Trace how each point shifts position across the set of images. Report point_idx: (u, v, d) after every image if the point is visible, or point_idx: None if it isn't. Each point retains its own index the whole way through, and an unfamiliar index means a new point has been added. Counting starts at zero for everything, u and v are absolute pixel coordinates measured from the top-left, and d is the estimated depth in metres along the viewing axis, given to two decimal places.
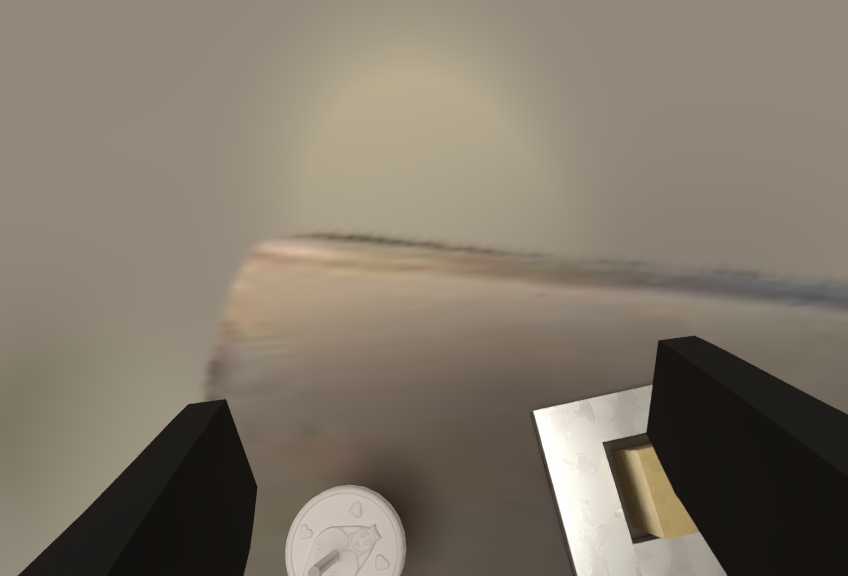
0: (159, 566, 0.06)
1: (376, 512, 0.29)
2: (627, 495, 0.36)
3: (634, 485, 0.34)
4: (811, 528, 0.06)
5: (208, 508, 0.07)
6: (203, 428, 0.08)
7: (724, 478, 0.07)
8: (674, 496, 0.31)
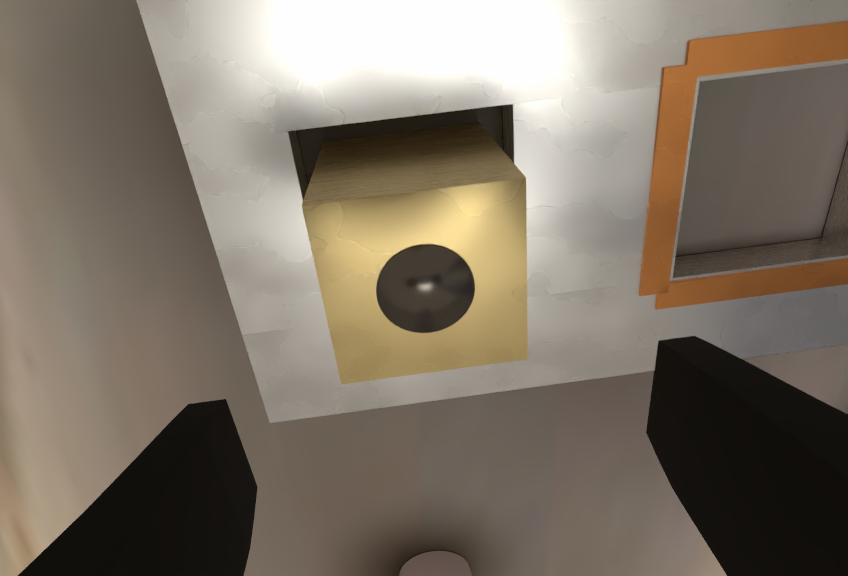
0: (159, 566, 0.06)
1: None
2: None
3: None
4: (811, 528, 0.06)
5: (208, 508, 0.07)
6: (203, 428, 0.08)
7: (723, 478, 0.07)
8: (446, 330, 0.14)
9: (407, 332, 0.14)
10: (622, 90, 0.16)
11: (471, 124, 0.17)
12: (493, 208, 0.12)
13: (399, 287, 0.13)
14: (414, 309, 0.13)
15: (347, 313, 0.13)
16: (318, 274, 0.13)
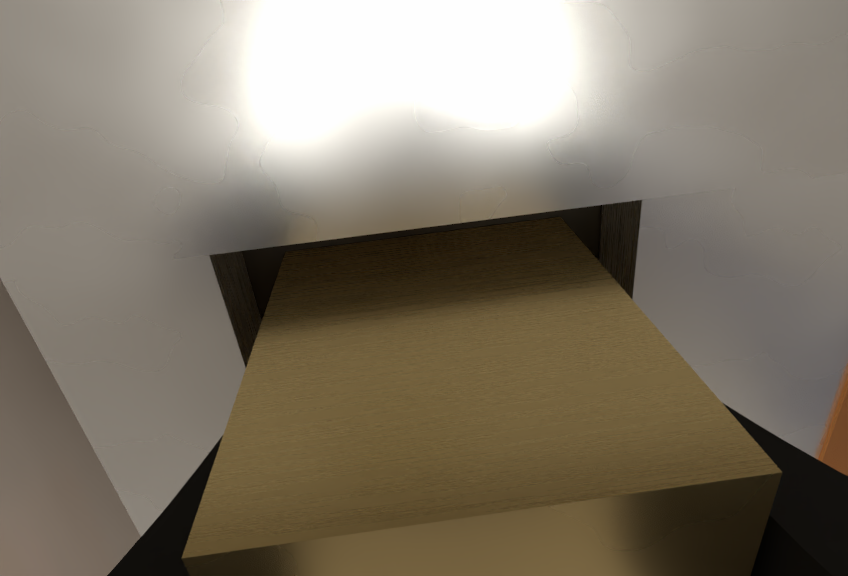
0: None
1: None
2: None
3: None
4: None
5: None
6: None
7: None
8: None
9: None
10: None
11: (548, 221, 0.10)
12: (681, 535, 0.05)
13: None
14: None
15: None
16: None
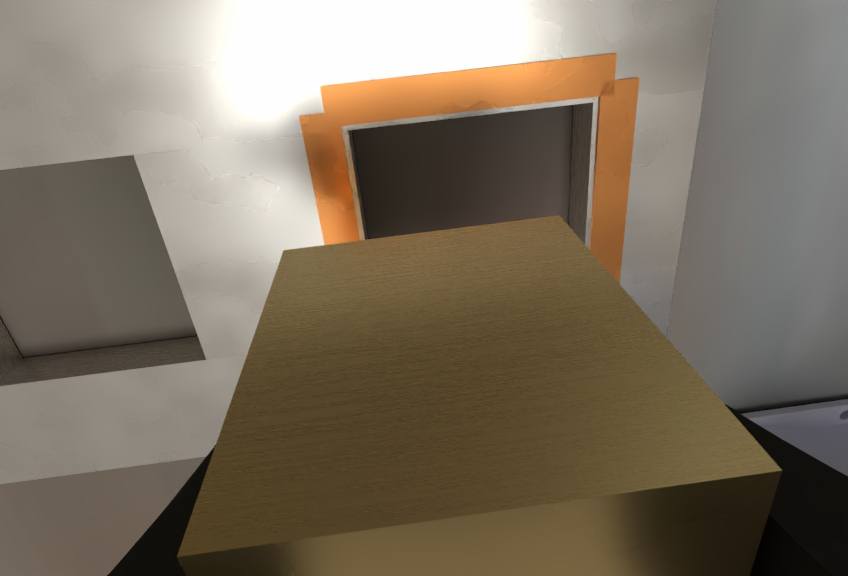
0: None
1: None
2: None
3: None
4: None
5: None
6: None
7: None
8: None
9: None
10: (260, 139, 0.14)
11: (547, 220, 0.10)
12: (681, 533, 0.05)
13: None
14: None
15: None
16: None
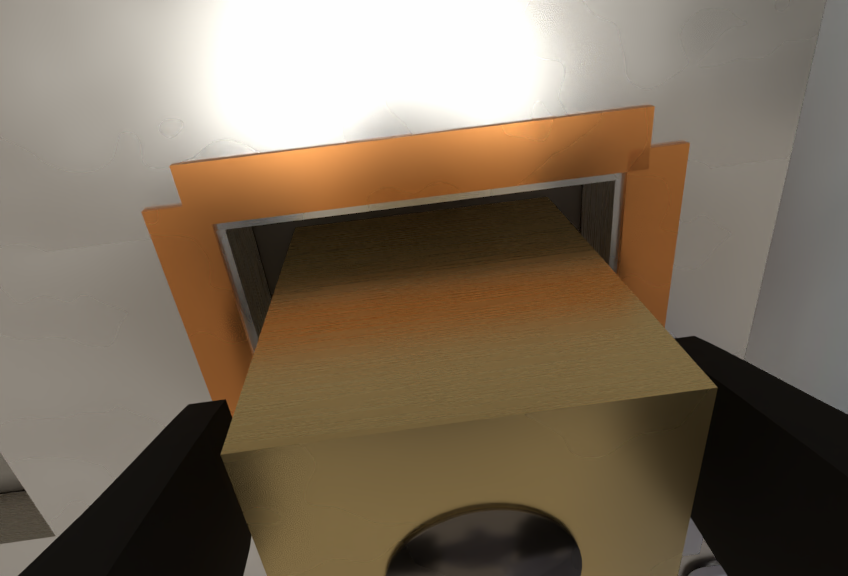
0: (159, 566, 0.06)
1: None
2: None
3: None
4: (811, 528, 0.06)
5: (208, 508, 0.07)
6: (203, 428, 0.08)
7: (724, 478, 0.07)
8: None
9: None
10: (86, 246, 0.09)
11: (535, 200, 0.11)
12: (636, 444, 0.06)
13: None
14: None
15: None
16: (266, 557, 0.06)
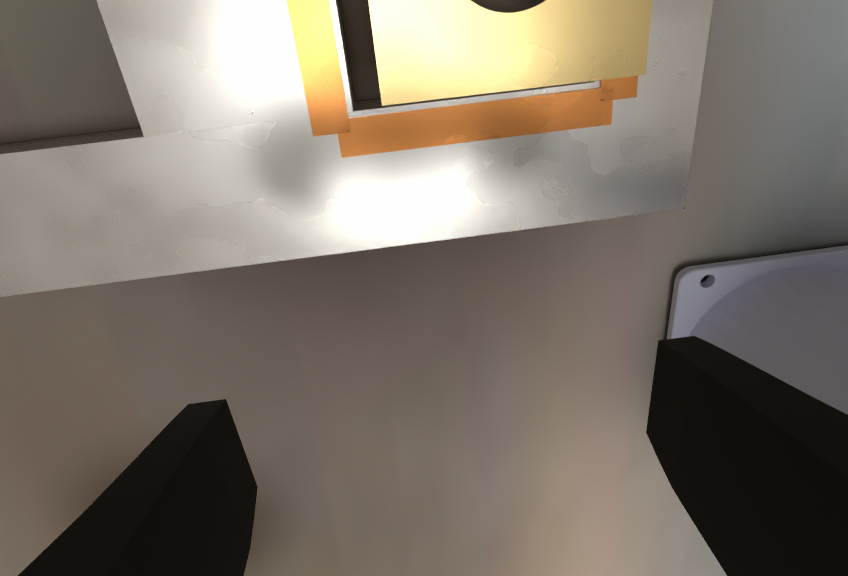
0: (159, 566, 0.06)
1: None
2: None
3: None
4: (811, 528, 0.06)
5: (208, 508, 0.07)
6: (203, 428, 0.08)
7: (724, 478, 0.07)
8: (536, 11, 0.09)
9: (480, 13, 0.09)
10: None
11: None
12: None
13: None
14: None
15: None
16: None
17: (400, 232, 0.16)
